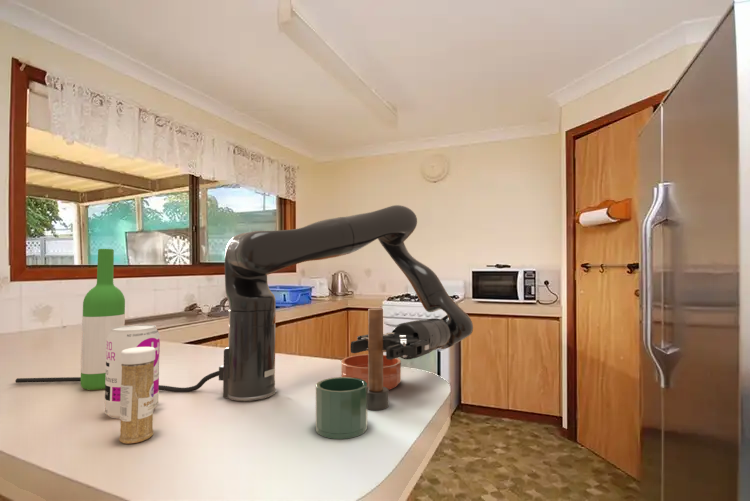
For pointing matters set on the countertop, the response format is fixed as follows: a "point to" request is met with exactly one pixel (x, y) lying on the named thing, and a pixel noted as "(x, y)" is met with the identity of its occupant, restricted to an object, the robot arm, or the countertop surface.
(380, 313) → the brush
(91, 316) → the wine bottle
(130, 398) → the sprinkles bottle
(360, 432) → the pot
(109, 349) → the supplement can
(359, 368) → the bowl
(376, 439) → the countertop surface
